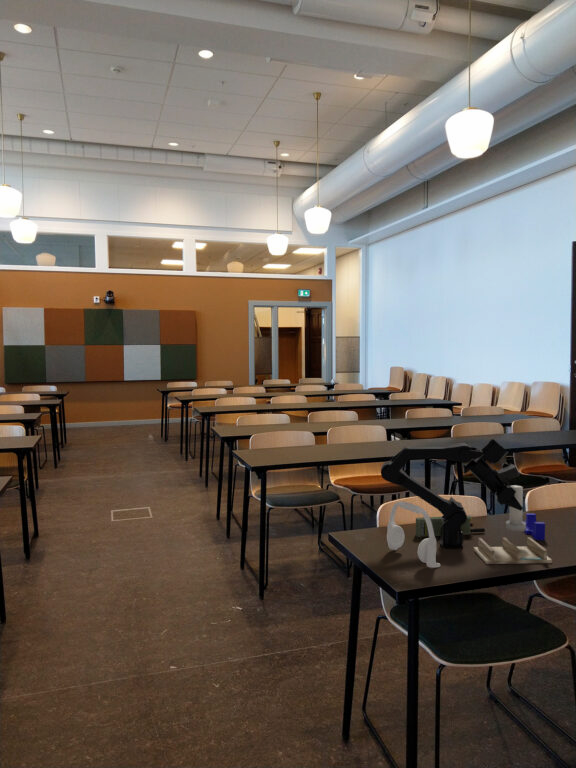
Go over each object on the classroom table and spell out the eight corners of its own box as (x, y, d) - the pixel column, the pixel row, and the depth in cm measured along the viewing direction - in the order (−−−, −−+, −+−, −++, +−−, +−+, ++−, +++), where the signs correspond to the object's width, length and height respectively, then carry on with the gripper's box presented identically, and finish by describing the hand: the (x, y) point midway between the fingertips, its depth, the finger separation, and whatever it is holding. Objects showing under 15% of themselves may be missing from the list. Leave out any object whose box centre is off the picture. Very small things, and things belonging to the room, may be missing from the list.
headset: (382, 551, 184) (382, 498, 183) (399, 547, 187) (399, 495, 186) (424, 572, 166) (424, 513, 165) (442, 567, 170) (442, 509, 169)
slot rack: (486, 563, 172) (486, 551, 172) (473, 550, 184) (473, 538, 184) (551, 562, 172) (551, 550, 171) (534, 549, 184) (534, 537, 183)
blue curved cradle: (521, 529, 205) (521, 513, 204) (534, 529, 204) (534, 513, 204) (531, 540, 193) (531, 523, 193) (544, 540, 192) (545, 523, 192)
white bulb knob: (507, 531, 182) (508, 488, 181) (504, 525, 188) (504, 484, 187) (527, 532, 181) (527, 489, 180) (523, 526, 187) (523, 484, 186)
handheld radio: (414, 534, 201) (482, 531, 203) (417, 538, 197) (486, 535, 199) (415, 516, 200) (482, 513, 202) (417, 519, 197) (486, 516, 199)
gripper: (508, 462, 175) (546, 498, 173) (498, 451, 193) (532, 484, 191) (482, 486, 177) (519, 522, 175) (474, 473, 195) (508, 506, 193)
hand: (520, 507), depth 184 cm, fingers closed on white bulb knob, 4 cm apart
